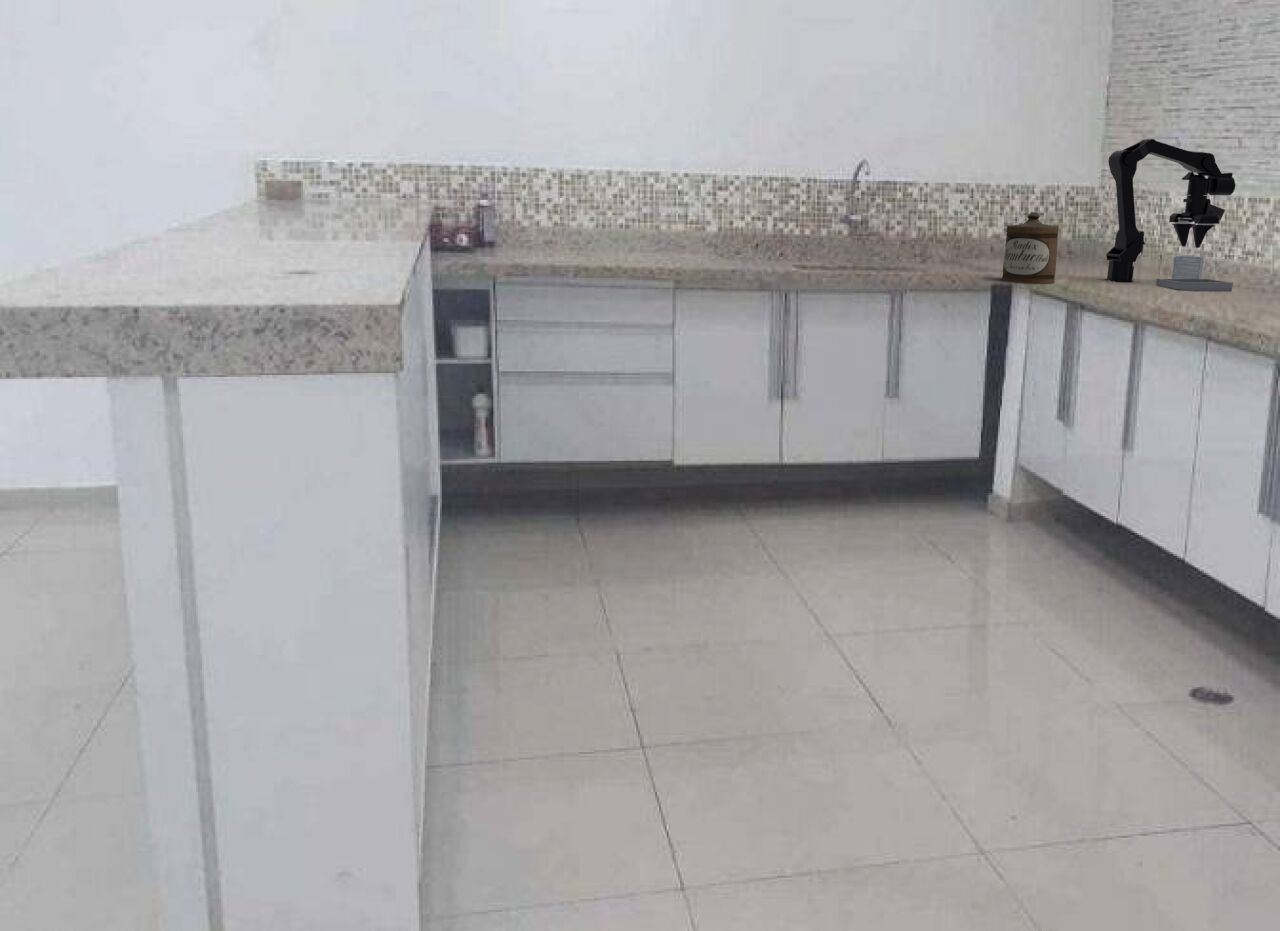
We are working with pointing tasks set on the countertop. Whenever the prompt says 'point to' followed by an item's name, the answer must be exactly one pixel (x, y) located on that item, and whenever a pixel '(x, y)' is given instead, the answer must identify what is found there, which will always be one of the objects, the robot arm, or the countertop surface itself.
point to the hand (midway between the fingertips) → (1190, 247)
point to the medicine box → (1187, 267)
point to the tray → (1195, 284)
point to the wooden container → (1031, 252)
